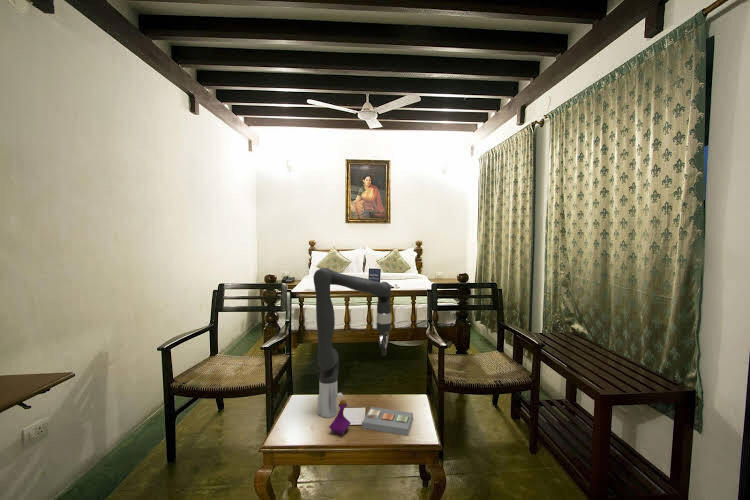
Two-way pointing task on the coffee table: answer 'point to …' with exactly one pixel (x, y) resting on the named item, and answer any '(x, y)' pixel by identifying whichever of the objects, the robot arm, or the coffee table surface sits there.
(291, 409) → the coffee table surface
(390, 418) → the terracotta tile
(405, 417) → the sage tile
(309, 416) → the coffee table surface
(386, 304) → the robot arm
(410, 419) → the tile board
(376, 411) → the cream tile
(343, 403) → the perfume bottle
